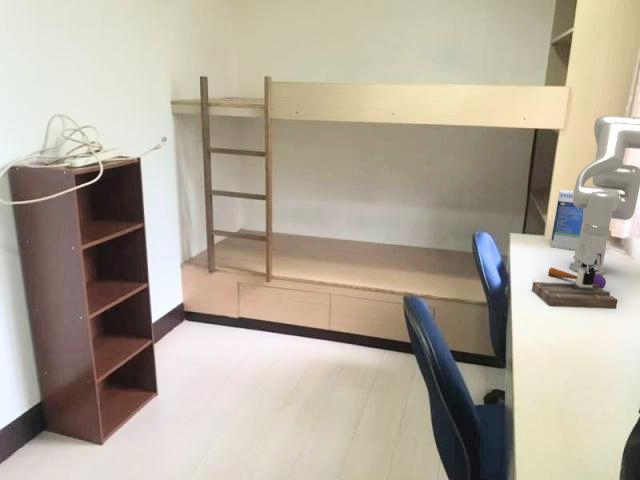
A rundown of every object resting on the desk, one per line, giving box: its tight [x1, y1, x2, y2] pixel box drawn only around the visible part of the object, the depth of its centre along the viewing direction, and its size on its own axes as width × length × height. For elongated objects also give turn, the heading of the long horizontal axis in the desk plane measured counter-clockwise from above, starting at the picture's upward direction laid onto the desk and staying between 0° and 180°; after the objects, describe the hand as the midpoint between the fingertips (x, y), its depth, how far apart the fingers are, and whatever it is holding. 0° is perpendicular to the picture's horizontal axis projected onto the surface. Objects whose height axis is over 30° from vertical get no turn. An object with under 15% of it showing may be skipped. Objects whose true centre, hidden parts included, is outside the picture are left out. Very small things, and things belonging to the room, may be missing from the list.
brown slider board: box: [531, 281, 619, 309], centre depth 176 cm, size 14×22×4 cm, turn 91°
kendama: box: [547, 267, 607, 290], centre depth 192 cm, size 6×6×20 cm
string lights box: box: [549, 189, 583, 251], centre depth 235 cm, size 13×8×26 cm, turn 66°
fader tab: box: [572, 267, 595, 291], centre depth 175 cm, size 4×5×8 cm
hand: (584, 282), depth 175 cm, fingers closed on fader tab, 3 cm apart
